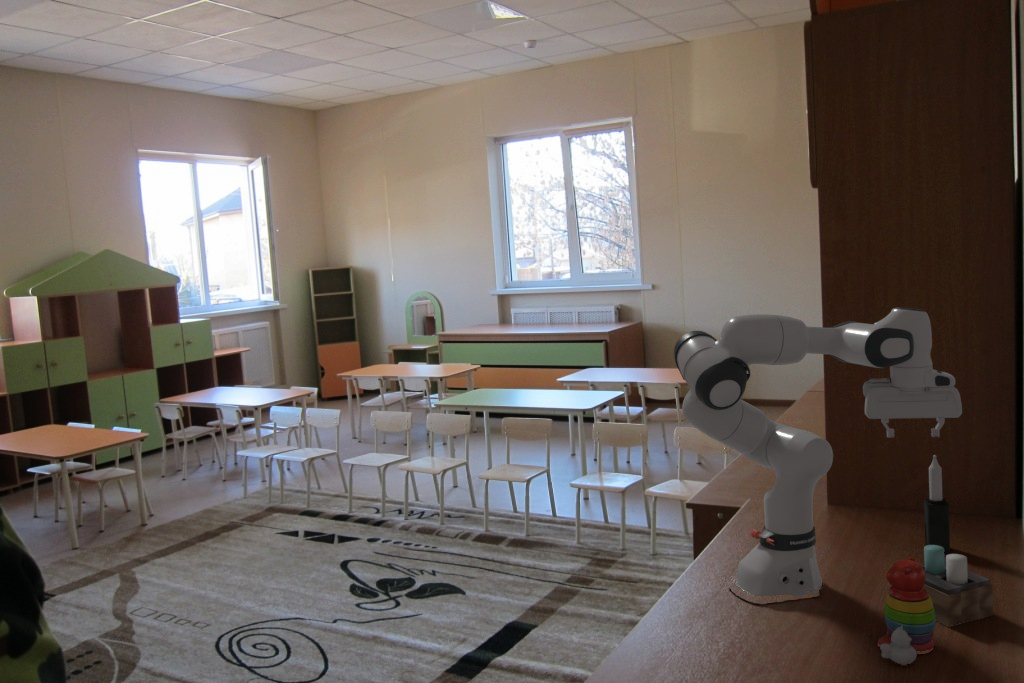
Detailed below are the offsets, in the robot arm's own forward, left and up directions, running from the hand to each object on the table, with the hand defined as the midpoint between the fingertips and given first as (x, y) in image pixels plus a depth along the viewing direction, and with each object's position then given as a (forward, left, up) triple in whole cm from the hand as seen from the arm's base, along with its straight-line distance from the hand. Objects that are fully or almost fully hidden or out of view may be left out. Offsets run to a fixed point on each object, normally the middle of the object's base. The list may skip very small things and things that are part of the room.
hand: (912, 436), depth 197 cm
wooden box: (-4, -13, -36) cm, 38 cm away
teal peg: (-4, -10, -31) cm, 32 cm away
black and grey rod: (+20, +14, -36) cm, 43 cm away
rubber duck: (-29, -27, -36) cm, 53 cm away
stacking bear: (-22, -22, -36) cm, 47 cm away
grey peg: (-4, -16, -31) cm, 35 cm away
